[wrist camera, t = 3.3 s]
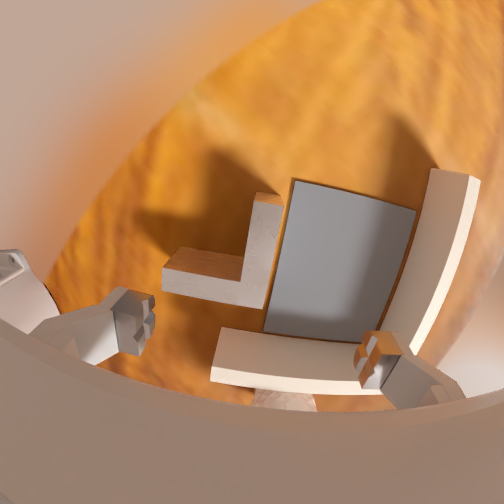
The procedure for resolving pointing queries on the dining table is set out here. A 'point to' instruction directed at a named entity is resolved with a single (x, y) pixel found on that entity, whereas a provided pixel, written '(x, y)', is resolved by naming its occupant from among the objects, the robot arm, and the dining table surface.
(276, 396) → the white cup
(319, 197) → the mat
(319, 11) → the dining table surface
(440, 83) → the dining table surface
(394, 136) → the dining table surface
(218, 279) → the bracket
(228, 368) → the corner walls
